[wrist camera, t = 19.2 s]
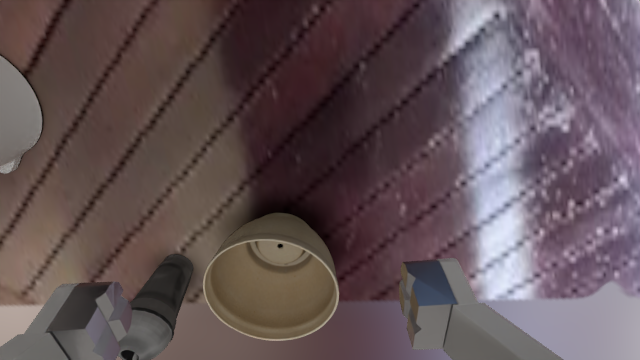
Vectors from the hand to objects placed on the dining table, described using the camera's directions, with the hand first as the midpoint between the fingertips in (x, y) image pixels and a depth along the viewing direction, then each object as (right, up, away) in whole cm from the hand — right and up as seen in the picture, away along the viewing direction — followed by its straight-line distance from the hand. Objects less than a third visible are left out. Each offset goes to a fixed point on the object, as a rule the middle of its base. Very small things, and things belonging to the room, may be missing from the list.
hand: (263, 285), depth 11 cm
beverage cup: (-20, -10, +47) cm, 52 cm away
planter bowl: (-4, -5, +43) cm, 44 cm away
